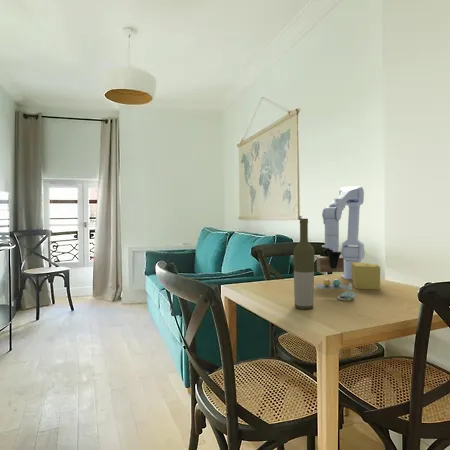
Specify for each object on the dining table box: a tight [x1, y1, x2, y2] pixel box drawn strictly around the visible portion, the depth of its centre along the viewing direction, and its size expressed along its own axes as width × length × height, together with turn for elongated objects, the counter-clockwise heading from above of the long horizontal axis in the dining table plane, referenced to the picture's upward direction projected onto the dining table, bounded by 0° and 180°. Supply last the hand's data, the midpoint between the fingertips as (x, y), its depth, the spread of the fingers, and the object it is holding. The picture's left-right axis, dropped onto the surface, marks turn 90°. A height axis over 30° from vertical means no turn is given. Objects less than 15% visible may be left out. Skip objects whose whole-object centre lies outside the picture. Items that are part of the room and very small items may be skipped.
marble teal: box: [332, 278, 341, 286], centre depth 148 cm, size 3×3×3 cm
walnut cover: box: [316, 255, 345, 273], centre depth 148 cm, size 6×10×6 cm, turn 86°
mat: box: [314, 283, 348, 290], centre depth 148 cm, size 9×13×1 cm
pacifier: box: [336, 282, 356, 301], centre depth 128 cm, size 7×6×6 cm
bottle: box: [292, 218, 315, 310], centre depth 117 cm, size 7×7×30 cm
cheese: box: [351, 262, 381, 290], centre depth 147 cm, size 10×11×10 cm
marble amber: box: [322, 278, 332, 286], centre depth 148 cm, size 3×3×3 cm
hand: (331, 267), depth 148 cm, fingers closed on walnut cover, 6 cm apart
